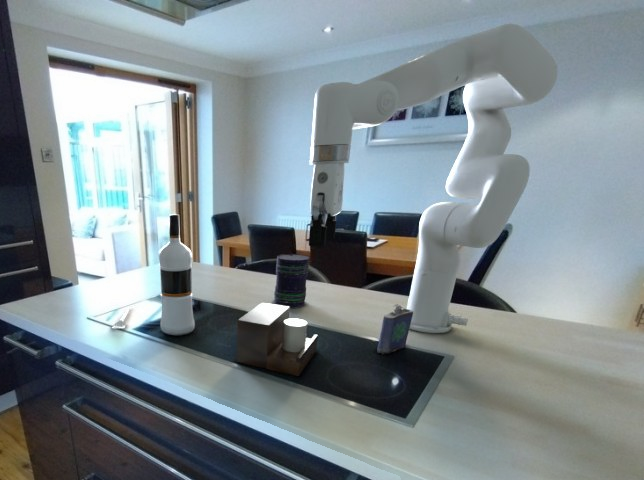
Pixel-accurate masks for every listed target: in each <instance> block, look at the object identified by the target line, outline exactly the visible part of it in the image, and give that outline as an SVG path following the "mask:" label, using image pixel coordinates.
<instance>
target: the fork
mask: <svg viewBox="0 0 644 480" xmlns="http://www.w3.org/2000/svg"><path fill="white" fill-rule="evenodd" d="M131 309H132V307H131V306H128V308H127V309H126V310H125V312H124V313H123V314H122V315H121V317H120V319H118V321H117V322H115V324H114V325H113V326H110V329H125V328H126V324H125V322H124V321H125V319H126V318H127V316H128V314H129V313H130V311H131Z"/></svg>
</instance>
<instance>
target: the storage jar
mask: <svg viewBox="0 0 644 480" xmlns="http://www.w3.org/2000/svg"><path fill="white" fill-rule="evenodd" d="M309 261H310V256H308V255H306V254H299V253H285V254H284V253H283V254H279V255H277V256H276V265H275V269H276V270H275V275H276V278H275V281H276V282H275V286H274V293H273V295H274V300H273V304H276V305H282V306H289V307H290V309H298V308H302V307H304V306H305V305H306V302H305V300H306V296H307V287H306V286H307V278H308V274H309V268H310V266H309V264H310V262H309Z"/></svg>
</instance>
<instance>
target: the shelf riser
mask: <svg viewBox="0 0 644 480" xmlns="http://www.w3.org/2000/svg"><path fill="white" fill-rule="evenodd" d="M290 314H291V308H290V307H289V306H282V305H276V304H274V303H268V302H261V303H259V304H258V305H256V306H255V307H253V309H251V310H249V311H248V312H247V313H245V314H244V315H243V316H241V317H240V318H239V319H237V336H236V340H237V341H236V363H240V364H245V365H249V366H252V367H257V368H262V369H264V370H265V369H266V370H269V371H275V372H278V373H282V374H286V375H291V376H295V377H299V376H300V375H301V374H302V372H303V371H304V370H305V368H306V366H307V365H308V364H309V362H310V361H311V359H312V358H313V356H314V355H315V354H316V353H317V347H318V340H319V339H318V338H319V335H318V334H313V336H312V337H311V338H310V337H306V343H305V347H304V348H303V350H302V351H301V352H289V351H286V350H284V349H283V348H282V336H283V324H284V320H286V319H290Z"/></svg>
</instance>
